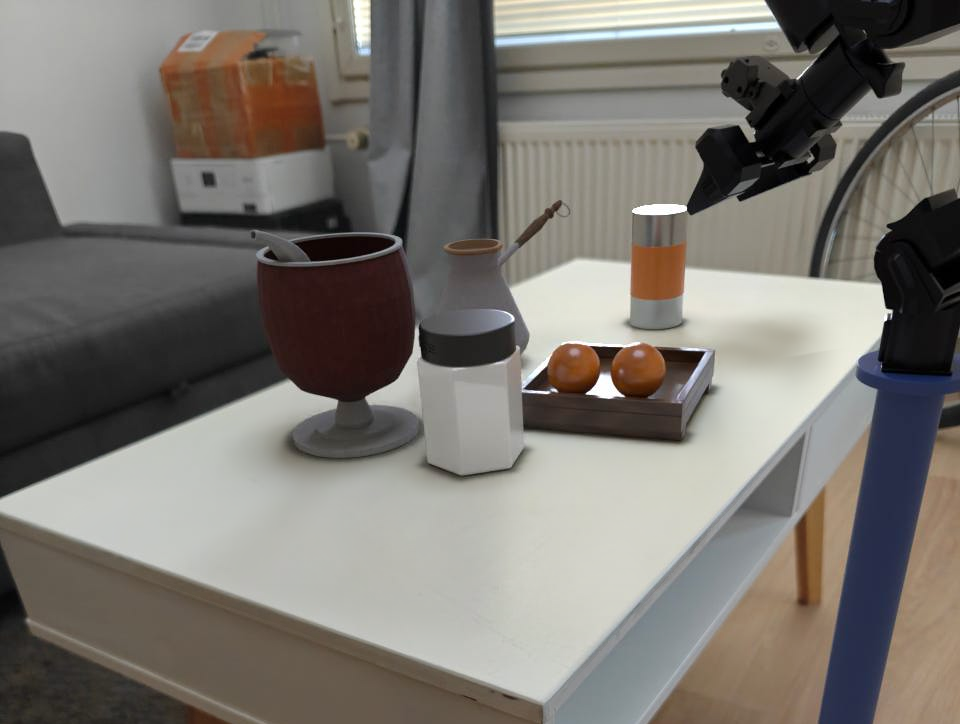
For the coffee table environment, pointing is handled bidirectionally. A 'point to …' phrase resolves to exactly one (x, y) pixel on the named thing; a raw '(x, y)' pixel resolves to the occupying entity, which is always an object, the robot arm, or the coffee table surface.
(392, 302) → the mate gourd
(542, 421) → the fruit tray
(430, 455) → the jar
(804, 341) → the coffee table surface
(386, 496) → the coffee table surface
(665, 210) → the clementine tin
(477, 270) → the coffee pot
